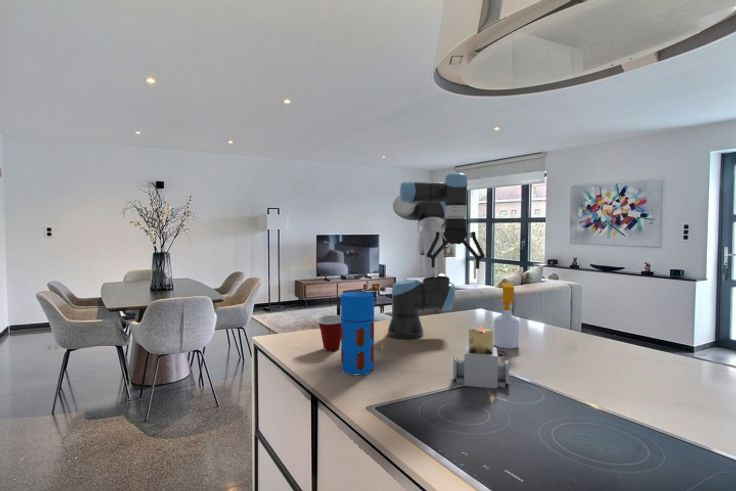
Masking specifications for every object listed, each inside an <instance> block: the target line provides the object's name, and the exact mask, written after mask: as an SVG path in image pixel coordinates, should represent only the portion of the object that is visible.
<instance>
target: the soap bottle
mask: <svg viewBox="0 0 736 491" xmlns="http://www.w3.org/2000/svg"><path fill="white" fill-rule="evenodd" d="M500 284H501V287H502V299H501V300H500V302H501V303H503V305H504V307H502V310H501V313H500V314H498V316H496V317H495V319H494V323H493V324H494V328H493V329H494V330H493V345H494V347H496V348H501V349H506V350H507V349H508V350H510V349H511V350H512V349H516V348H518V347H519V346H520V345H519V340H520V338H519V334H520V328H519V327H520V322H519V319H518V318H517V316H515V315H513V314H512V308H511V307H510V305H511V304H512V303H514V302H515V288H514V285H513V283H511V282H500Z"/></svg>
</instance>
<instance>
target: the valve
mask: <svg viewBox="0 0 736 491" xmlns="http://www.w3.org/2000/svg"><path fill="white" fill-rule="evenodd" d="M468 345H469V351H471V352H473V353H477V354H490V353H492V352H493V347H494V330H492V329H489V328H484V326H479V327H474V328H470V329H469V330H468Z"/></svg>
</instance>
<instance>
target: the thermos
mask: <svg viewBox="0 0 736 491" xmlns="http://www.w3.org/2000/svg"><path fill="white" fill-rule="evenodd" d="M340 316H341V341H340V351H341V352H340V357H341V359H340V360H341V371H342V370H343V371H344V372H346V373H349V374H366V373H369V374H371V373H373V372H372V371H374V370H375V368H374V367H375V296H374V293H373V292H367V291H348V292H347V291H345V292H342V293H341V296H340ZM344 372H343V373H344ZM370 372H371V373H370ZM346 373H345V374H346ZM349 374H348V375H349ZM366 375H367V374H366Z"/></svg>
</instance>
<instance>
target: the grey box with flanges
mask: <svg viewBox="0 0 736 491" xmlns="http://www.w3.org/2000/svg"><path fill="white" fill-rule="evenodd" d="M497 348H498V347H497V346H493V352H492V353H490V354H477V353H473V352H471V351H469V344H468V345H466V344H465V348H464V360H463V359H462V360H459V359H458V356H453V362H452V363H453V364H452V365H453V367H452V370H453V371H452V377H453V380H456V384H462V385H464V386H465V387H477V388H478V387H479V388H486V389H487V388H488V389H498V388H506V385H509V383H510V363H509V362H510V361H509V360H506V359H505V360H504V362H503V363H500V362H498V360H499V355H498V349H497Z"/></svg>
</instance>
